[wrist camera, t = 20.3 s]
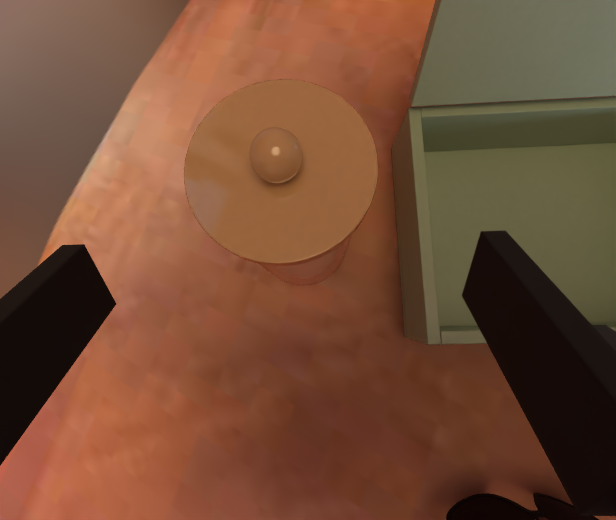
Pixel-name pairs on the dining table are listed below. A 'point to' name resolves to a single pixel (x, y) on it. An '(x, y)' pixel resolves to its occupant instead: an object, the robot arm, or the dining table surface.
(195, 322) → the dining table surface
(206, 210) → the canister
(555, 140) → the box
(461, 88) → the box lid
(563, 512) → the sunglasses
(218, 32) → the dining table surface
